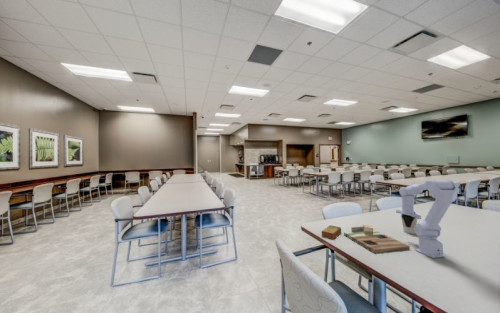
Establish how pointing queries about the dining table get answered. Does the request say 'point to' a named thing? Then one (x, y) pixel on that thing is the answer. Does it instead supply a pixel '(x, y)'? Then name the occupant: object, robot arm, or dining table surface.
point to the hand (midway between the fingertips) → (408, 226)
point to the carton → (331, 232)
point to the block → (368, 229)
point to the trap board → (375, 241)
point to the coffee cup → (409, 229)
